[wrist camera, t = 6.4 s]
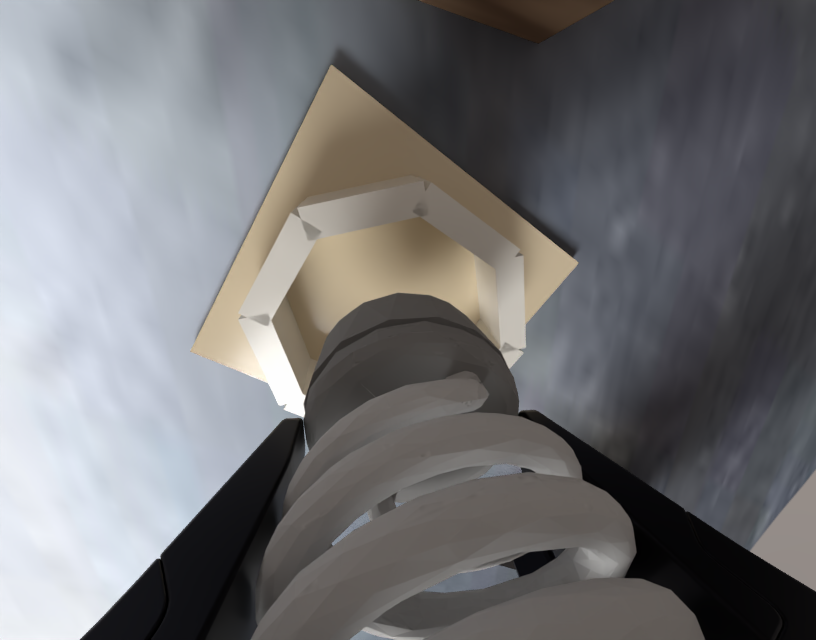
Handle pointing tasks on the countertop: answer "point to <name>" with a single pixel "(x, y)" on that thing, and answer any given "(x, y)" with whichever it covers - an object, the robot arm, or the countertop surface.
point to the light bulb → (443, 501)
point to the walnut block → (523, 14)
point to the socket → (370, 245)
